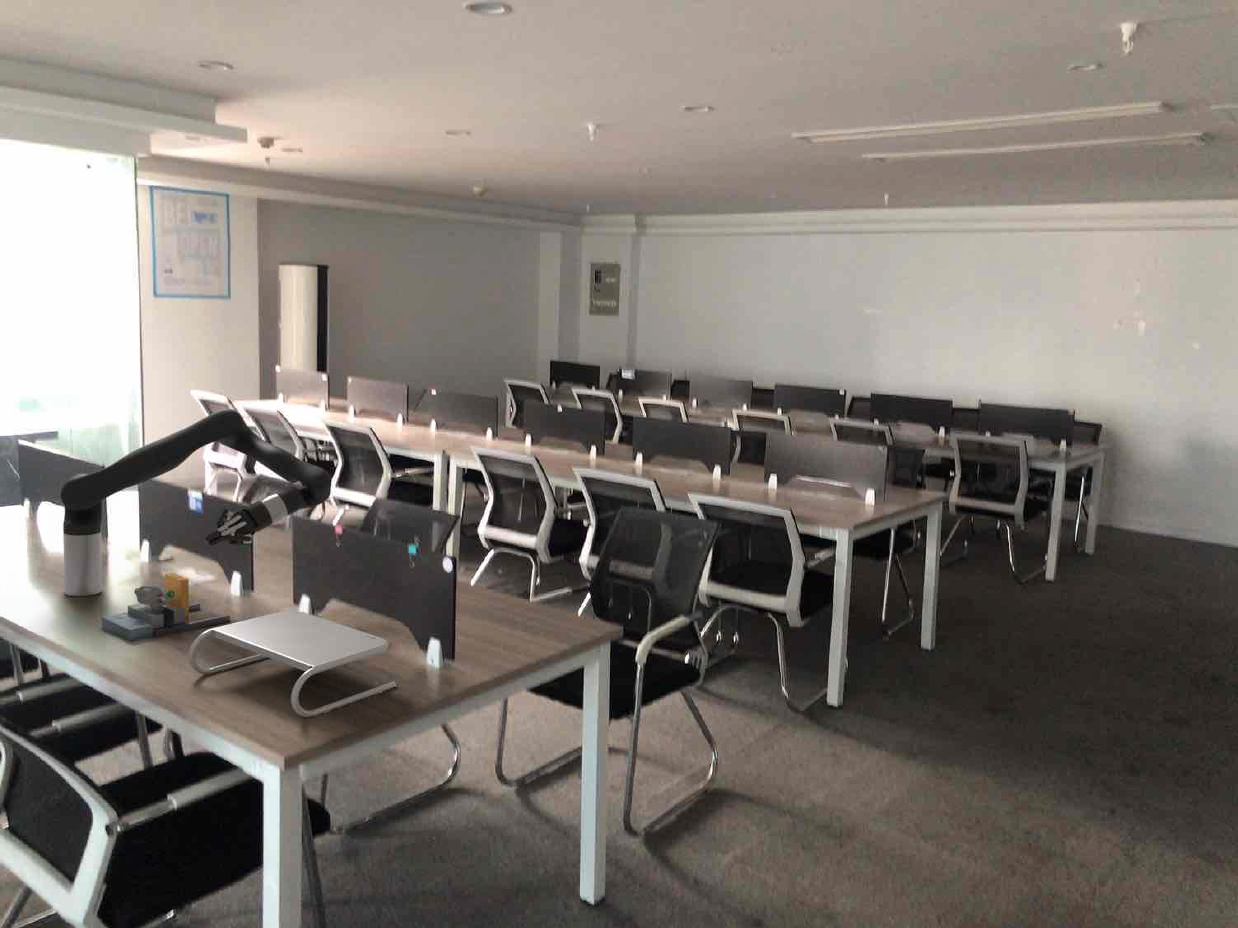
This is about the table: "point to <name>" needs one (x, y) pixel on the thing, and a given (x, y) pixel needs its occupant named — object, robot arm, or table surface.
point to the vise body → (150, 623)
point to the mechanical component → (154, 597)
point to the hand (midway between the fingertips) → (206, 542)
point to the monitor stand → (298, 648)
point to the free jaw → (176, 601)
